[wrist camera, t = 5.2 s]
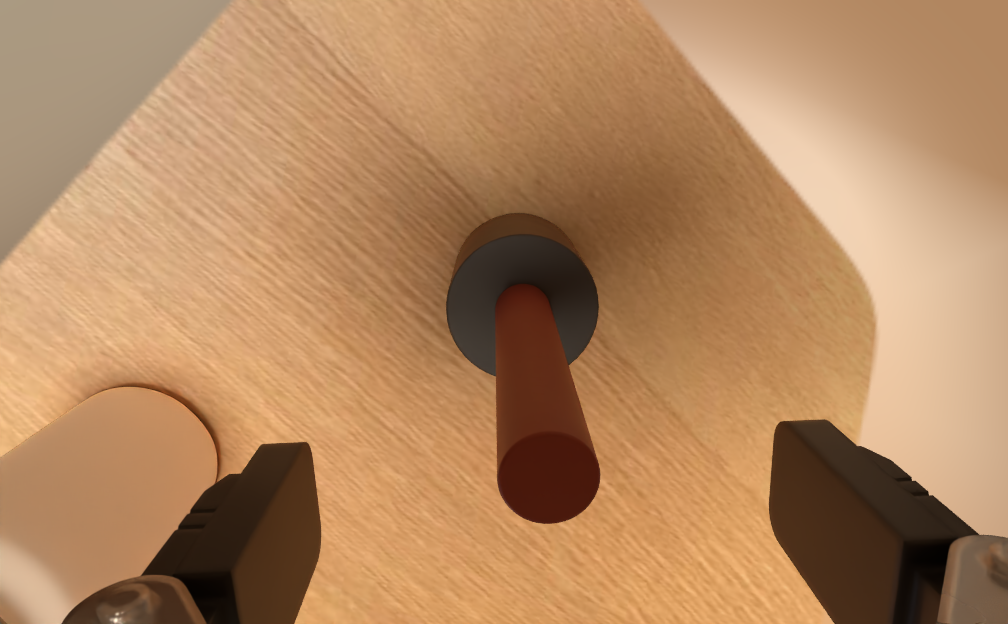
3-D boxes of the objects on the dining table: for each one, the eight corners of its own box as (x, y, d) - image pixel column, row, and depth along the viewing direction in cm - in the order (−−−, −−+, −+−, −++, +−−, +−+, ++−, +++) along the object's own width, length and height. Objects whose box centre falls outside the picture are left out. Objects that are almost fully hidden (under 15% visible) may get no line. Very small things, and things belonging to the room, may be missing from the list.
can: (250, 486, 30) (96, 721, 18) (121, 542, 30) (-107, 803, 19) (169, 357, 28) (-56, 524, 17) (35, 419, 29) (-273, 622, 17)
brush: (579, 210, 27) (698, 336, 11) (580, 333, 28) (688, 595, 13) (450, 215, 27) (393, 349, 11) (457, 338, 28) (415, 608, 13)
